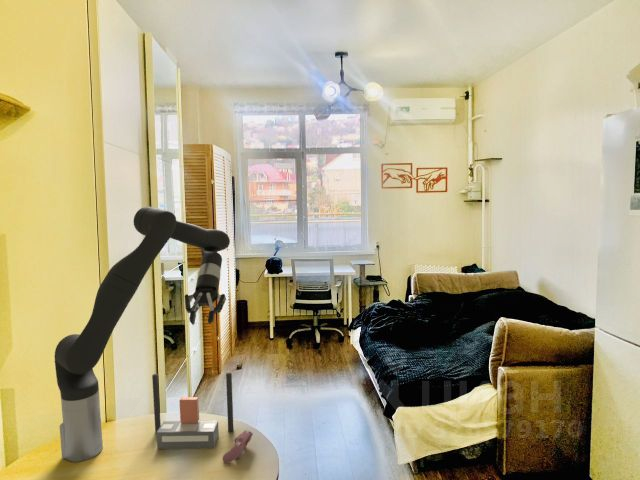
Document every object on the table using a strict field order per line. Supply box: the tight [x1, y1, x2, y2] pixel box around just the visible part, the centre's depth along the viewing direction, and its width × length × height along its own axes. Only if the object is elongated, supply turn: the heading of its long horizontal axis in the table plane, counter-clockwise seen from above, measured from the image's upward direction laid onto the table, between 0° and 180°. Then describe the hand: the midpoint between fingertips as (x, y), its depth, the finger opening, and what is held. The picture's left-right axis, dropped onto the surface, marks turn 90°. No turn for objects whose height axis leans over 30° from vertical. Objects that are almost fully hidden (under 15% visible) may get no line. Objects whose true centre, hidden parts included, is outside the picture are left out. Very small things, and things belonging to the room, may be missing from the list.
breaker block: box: [155, 420, 220, 450], centre depth 126 cm, size 16×6×5 cm, turn 90°
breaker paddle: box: [179, 396, 200, 423], centre depth 128 cm, size 5×2×7 cm, turn 90°
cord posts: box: [151, 372, 235, 434], centre depth 132 cm, size 24×2×18 cm, turn 90°
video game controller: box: [222, 429, 254, 464], centre depth 120 cm, size 10×5×7 cm, turn 168°
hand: (201, 322), depth 142 cm, fingers open, 5 cm apart
